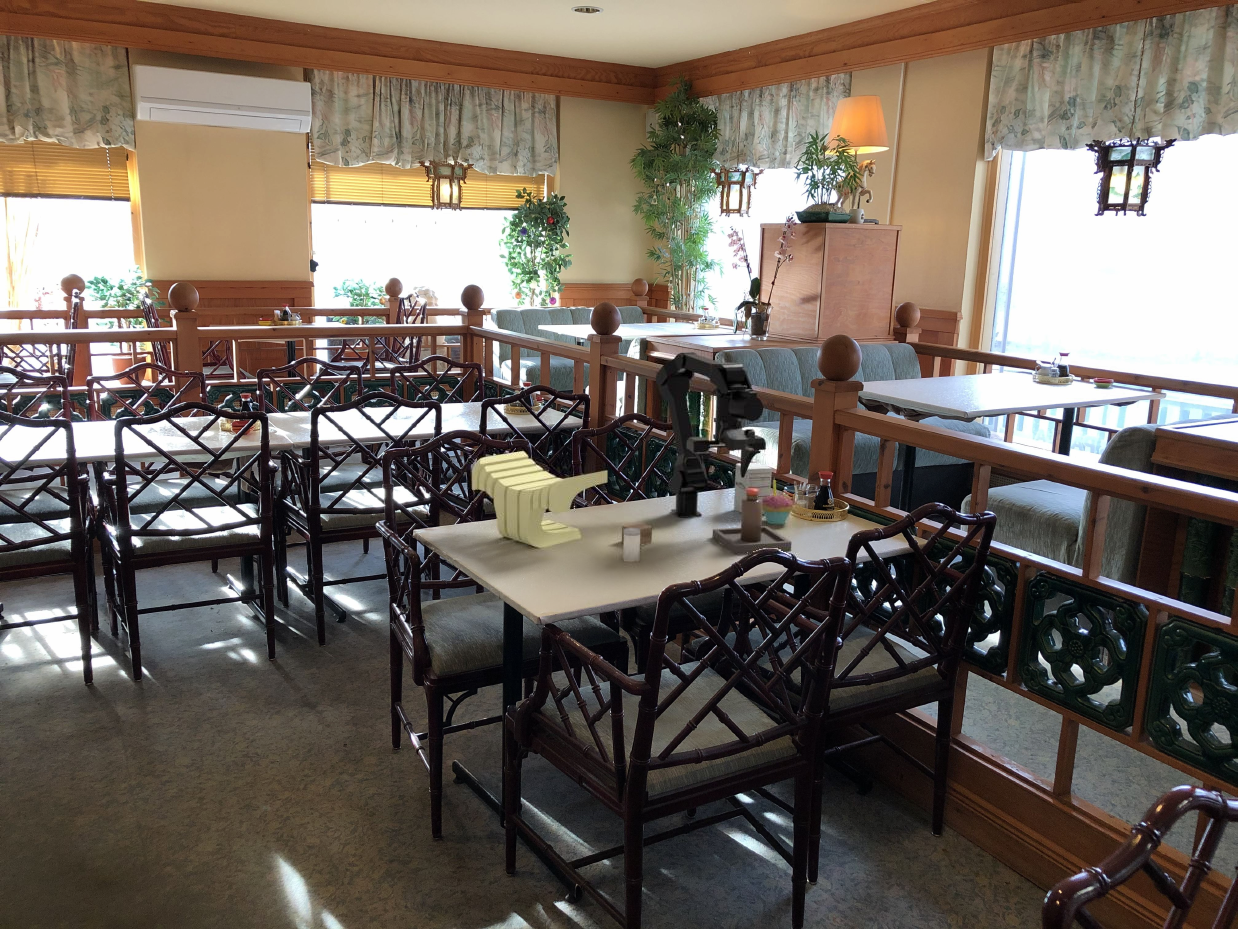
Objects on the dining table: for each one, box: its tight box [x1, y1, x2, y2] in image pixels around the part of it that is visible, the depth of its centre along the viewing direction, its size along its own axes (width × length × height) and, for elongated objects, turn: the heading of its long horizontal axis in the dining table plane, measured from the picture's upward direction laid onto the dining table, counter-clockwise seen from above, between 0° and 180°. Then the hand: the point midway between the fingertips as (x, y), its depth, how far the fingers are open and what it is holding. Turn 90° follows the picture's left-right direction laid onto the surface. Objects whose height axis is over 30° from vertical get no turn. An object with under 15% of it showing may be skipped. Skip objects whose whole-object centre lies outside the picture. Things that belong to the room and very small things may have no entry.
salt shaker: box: [622, 528, 641, 563], centre depth 214 cm, size 4×4×7 cm
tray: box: [712, 525, 792, 555], centre depth 228 cm, size 14×14×2 cm
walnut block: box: [621, 521, 653, 546], centre depth 228 cm, size 5×5×4 cm
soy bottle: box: [740, 488, 763, 542], centre depth 227 cm, size 5×5×12 cm
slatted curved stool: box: [471, 450, 608, 549], centre depth 228 cm, size 30×16×18 cm, turn 45°
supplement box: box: [733, 462, 773, 515], centre depth 256 cm, size 7×7×13 cm
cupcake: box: [762, 477, 794, 525], centre depth 247 cm, size 9×8×12 cm
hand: (725, 478), depth 237 cm, fingers open, 9 cm apart
